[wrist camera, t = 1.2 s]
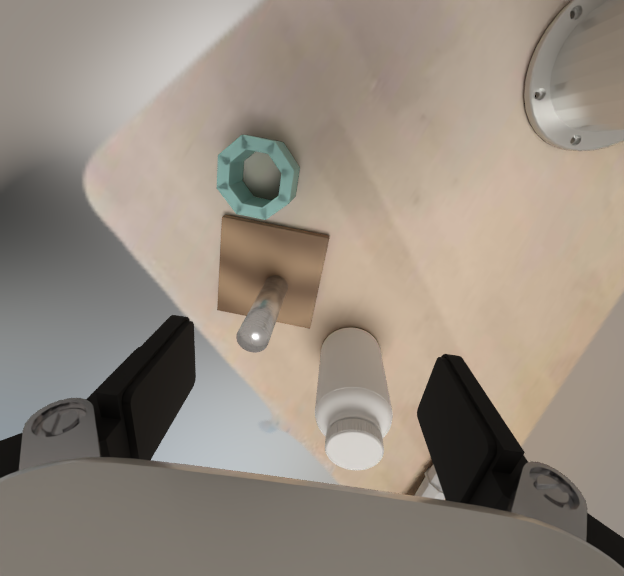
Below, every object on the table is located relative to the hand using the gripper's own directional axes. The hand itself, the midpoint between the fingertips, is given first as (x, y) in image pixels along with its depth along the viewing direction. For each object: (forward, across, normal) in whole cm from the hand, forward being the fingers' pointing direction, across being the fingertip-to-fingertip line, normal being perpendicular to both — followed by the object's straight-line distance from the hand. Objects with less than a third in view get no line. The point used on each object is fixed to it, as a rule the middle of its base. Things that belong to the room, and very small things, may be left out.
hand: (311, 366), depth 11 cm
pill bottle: (+24, -6, +16) cm, 30 cm away
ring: (+24, +7, -4) cm, 26 cm away
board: (+24, +5, +7) cm, 26 cm away
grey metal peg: (+23, +4, +8) cm, 25 cm away
